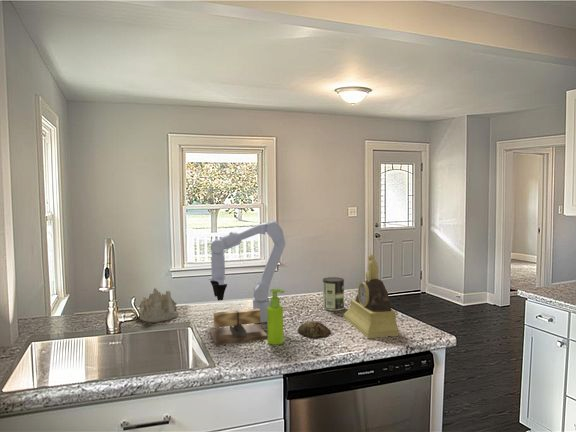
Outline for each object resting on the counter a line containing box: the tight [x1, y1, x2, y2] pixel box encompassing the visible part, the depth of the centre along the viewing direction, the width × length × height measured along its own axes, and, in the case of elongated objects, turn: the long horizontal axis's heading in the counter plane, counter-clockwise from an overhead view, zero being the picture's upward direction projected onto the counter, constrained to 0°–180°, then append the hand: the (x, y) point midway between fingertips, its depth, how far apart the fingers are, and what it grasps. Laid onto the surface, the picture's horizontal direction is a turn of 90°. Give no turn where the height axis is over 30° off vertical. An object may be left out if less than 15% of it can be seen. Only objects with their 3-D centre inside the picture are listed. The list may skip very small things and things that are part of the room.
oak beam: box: [213, 308, 261, 329], centre depth 170 cm, size 18×3×5 cm, turn 109°
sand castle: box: [138, 287, 179, 323], centre depth 198 cm, size 16×16×15 cm
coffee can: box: [322, 276, 345, 312], centre depth 208 cm, size 10×10×14 cm
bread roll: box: [297, 320, 332, 339], centre depth 172 cm, size 13×12×5 cm
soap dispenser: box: [266, 288, 286, 346], centre depth 161 cm, size 6×7×20 cm
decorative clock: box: [343, 253, 400, 339], centre depth 179 cm, size 28×13×30 cm, turn 12°
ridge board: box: [209, 323, 268, 346], centre depth 170 cm, size 20×15×4 cm
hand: (218, 298), depth 188 cm, fingers open, 7 cm apart
